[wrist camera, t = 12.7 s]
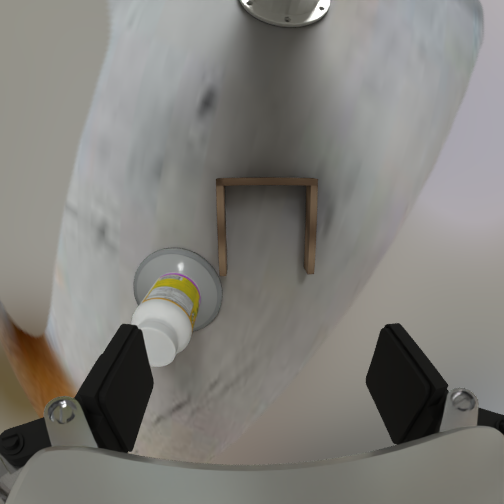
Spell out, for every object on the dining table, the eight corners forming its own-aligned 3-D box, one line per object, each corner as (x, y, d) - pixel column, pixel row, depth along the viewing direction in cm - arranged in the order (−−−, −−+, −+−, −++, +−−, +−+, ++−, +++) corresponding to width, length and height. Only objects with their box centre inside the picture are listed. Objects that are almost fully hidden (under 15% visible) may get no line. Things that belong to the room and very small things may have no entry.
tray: (129, 248, 36) (126, 250, 35) (220, 246, 36) (219, 248, 35) (142, 328, 39) (140, 331, 39) (224, 330, 40) (224, 334, 39)
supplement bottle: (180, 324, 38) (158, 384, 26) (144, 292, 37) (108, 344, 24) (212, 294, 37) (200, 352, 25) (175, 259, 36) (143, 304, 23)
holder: (218, 178, 34) (216, 179, 31) (312, 178, 34) (317, 178, 32) (221, 269, 37) (219, 276, 35) (309, 267, 37) (313, 273, 35)
